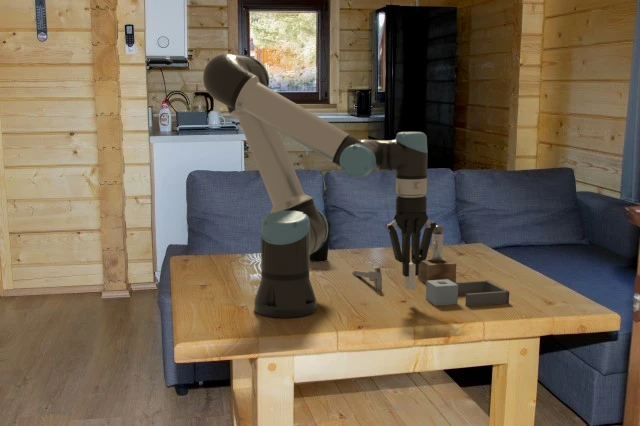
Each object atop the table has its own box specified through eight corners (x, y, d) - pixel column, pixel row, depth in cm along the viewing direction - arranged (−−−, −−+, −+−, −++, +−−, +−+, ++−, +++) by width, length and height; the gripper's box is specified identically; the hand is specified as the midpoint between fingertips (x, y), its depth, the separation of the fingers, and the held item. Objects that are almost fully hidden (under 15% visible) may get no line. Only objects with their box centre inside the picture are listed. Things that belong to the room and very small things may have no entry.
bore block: (428, 286, 210) (429, 265, 209) (417, 279, 218) (418, 258, 217) (455, 284, 212) (456, 263, 211) (443, 277, 220) (444, 257, 219)
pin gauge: (433, 280, 213) (435, 227, 210) (429, 277, 216) (430, 225, 213) (443, 279, 214) (445, 226, 211) (439, 277, 217) (440, 224, 214)
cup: (335, 258, 242) (335, 221, 240) (322, 263, 235) (322, 225, 233) (314, 255, 246) (314, 219, 244) (301, 260, 239) (301, 222, 237)
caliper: (382, 291, 205) (382, 269, 204) (378, 292, 204) (378, 269, 203) (355, 274, 224) (355, 253, 223) (351, 274, 223) (352, 253, 222)
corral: (466, 306, 191) (467, 294, 190) (447, 294, 202) (447, 283, 201) (508, 303, 194) (509, 291, 193) (487, 291, 205) (487, 280, 204)
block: (435, 306, 191) (436, 286, 191) (425, 299, 197) (426, 280, 196) (457, 304, 193) (458, 284, 192) (447, 297, 199) (448, 278, 198)
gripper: (391, 198, 183) (391, 294, 187) (442, 196, 186) (440, 290, 190) (381, 194, 190) (380, 286, 194) (429, 192, 193) (428, 283, 197)
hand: (410, 288), depth 192 cm, fingers closed
